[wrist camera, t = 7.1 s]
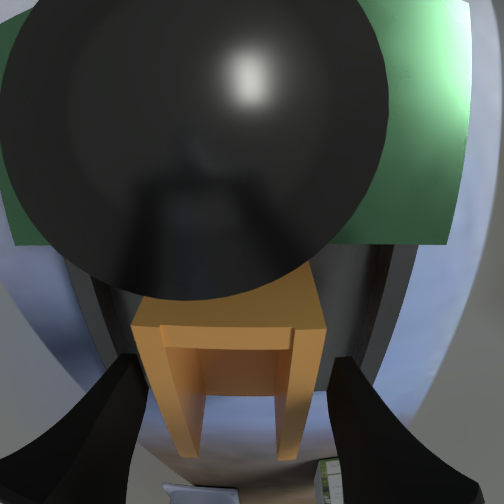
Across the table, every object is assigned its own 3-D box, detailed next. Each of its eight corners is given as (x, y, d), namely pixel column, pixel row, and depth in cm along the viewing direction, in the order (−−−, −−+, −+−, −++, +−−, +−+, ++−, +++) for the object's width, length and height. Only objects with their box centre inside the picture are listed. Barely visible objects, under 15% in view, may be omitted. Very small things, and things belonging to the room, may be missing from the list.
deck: (364, 376, 17) (393, 483, 10) (108, 371, 17) (71, 471, 11) (424, 16, 8) (562, -11, 2) (35, 34, 8) (-100, 35, 2)
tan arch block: (289, 383, 15) (295, 459, 12) (192, 382, 16) (180, 456, 12) (304, 245, 12) (326, 329, 8) (168, 244, 12) (130, 325, 8)
